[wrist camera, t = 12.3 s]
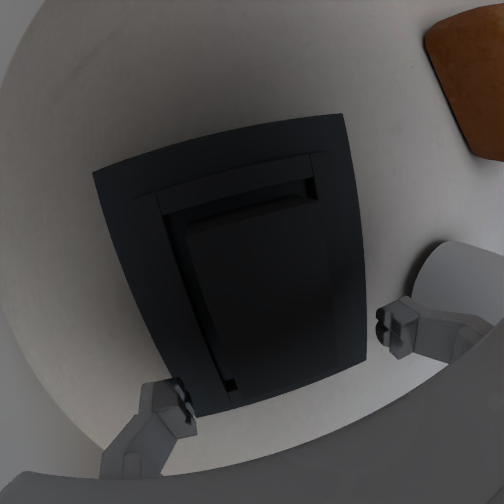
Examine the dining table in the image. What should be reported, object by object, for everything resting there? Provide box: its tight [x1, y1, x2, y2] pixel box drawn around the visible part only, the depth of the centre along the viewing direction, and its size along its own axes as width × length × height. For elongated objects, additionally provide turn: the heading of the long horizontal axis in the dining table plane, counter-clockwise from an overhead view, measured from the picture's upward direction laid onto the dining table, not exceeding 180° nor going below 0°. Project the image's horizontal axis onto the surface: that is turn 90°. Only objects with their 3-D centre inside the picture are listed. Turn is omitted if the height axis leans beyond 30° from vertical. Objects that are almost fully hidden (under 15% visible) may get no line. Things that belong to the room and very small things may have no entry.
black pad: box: [185, 194, 338, 400], centre depth 15 cm, size 10×6×3 cm, turn 14°
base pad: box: [92, 113, 367, 418], centre depth 16 cm, size 18×14×2 cm
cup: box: [411, 241, 504, 326], centre depth 14 cm, size 8×8×14 cm
